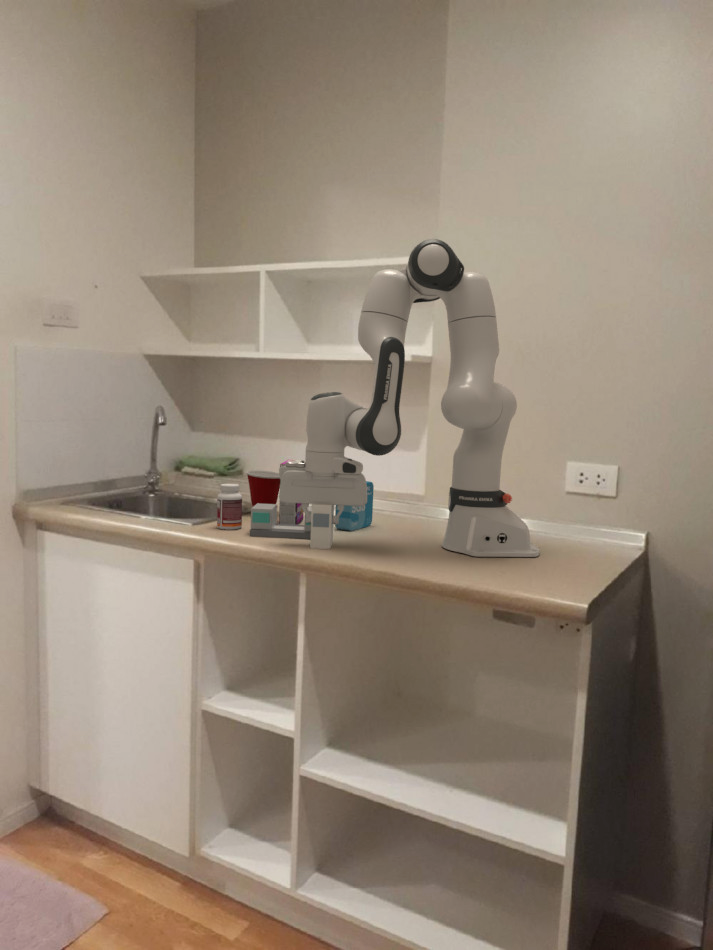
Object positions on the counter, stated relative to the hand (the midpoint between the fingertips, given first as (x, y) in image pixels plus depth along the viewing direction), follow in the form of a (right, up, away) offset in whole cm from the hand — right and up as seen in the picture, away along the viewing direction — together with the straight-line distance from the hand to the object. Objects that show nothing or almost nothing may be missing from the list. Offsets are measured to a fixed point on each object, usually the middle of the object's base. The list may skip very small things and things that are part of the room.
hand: (322, 523), depth 171 cm
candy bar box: (-10, -2, +28) cm, 30 cm away
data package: (+7, -3, +24) cm, 25 cm away
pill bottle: (-24, -2, +17) cm, 30 cm away
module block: (0, -5, +1) cm, 5 cm away
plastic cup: (-18, 0, +38) cm, 42 cm away
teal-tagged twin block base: (-9, -3, +12) cm, 15 cm away
